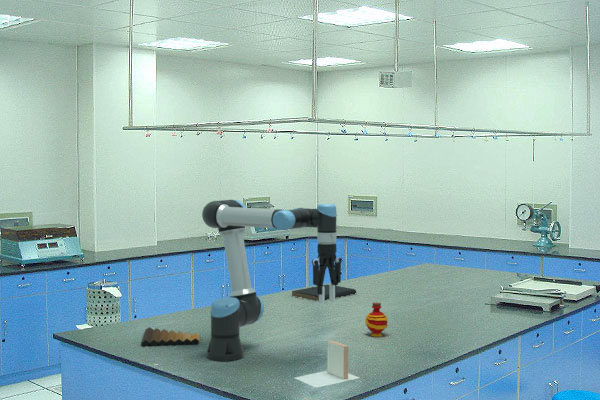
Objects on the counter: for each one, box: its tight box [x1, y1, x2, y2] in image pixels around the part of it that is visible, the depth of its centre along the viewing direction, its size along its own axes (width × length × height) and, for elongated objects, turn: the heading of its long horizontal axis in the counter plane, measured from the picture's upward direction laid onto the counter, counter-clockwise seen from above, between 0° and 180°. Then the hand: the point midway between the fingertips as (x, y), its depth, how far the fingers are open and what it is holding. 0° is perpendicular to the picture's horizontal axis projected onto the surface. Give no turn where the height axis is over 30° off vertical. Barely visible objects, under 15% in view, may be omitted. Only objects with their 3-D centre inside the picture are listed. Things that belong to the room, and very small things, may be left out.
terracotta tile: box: [326, 340, 349, 379], centre depth 251 cm, size 2×10×12 cm, turn 35°
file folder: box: [291, 284, 357, 302], centre depth 417 cm, size 33×4×24 cm
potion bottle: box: [364, 302, 389, 338], centre depth 315 cm, size 10×10×15 cm
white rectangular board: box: [294, 370, 361, 389], centre depth 249 cm, size 20×14×1 cm
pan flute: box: [141, 326, 200, 348], centre depth 310 cm, size 25×3×25 cm
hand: (326, 301), depth 268 cm, fingers open, 4 cm apart
